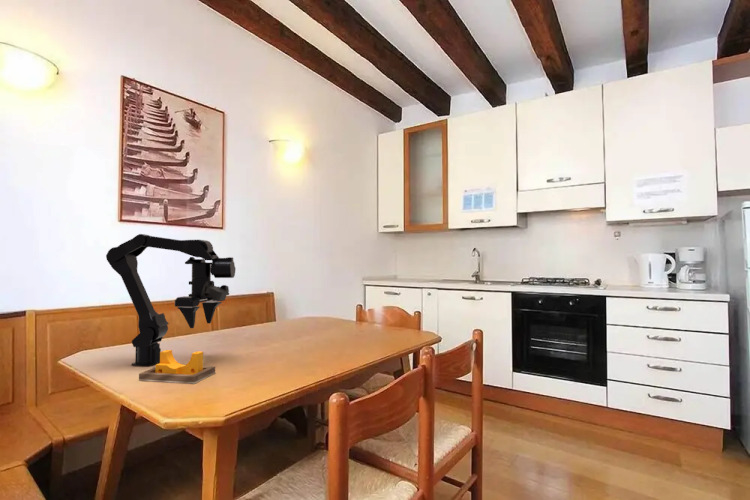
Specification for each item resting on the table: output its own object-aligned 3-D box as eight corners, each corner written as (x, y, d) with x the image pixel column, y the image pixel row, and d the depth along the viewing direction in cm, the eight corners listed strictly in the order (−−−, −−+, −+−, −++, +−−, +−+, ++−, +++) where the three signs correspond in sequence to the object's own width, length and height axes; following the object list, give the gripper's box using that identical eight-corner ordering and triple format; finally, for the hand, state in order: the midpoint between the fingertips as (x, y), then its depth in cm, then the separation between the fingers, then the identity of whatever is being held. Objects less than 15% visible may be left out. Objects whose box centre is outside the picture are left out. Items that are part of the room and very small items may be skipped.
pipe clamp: (155, 376, 111) (155, 353, 111) (165, 371, 115) (166, 349, 116) (193, 378, 109) (193, 355, 109) (202, 373, 113) (203, 351, 114)
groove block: (138, 380, 108) (138, 373, 108) (163, 370, 118) (163, 364, 118) (194, 383, 106) (194, 376, 106) (215, 373, 116) (215, 366, 116)
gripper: (207, 279, 117) (206, 331, 117) (238, 276, 136) (238, 321, 135) (173, 279, 119) (173, 330, 119) (209, 276, 138) (208, 320, 137)
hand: (200, 325), depth 128 cm, fingers open, 9 cm apart
